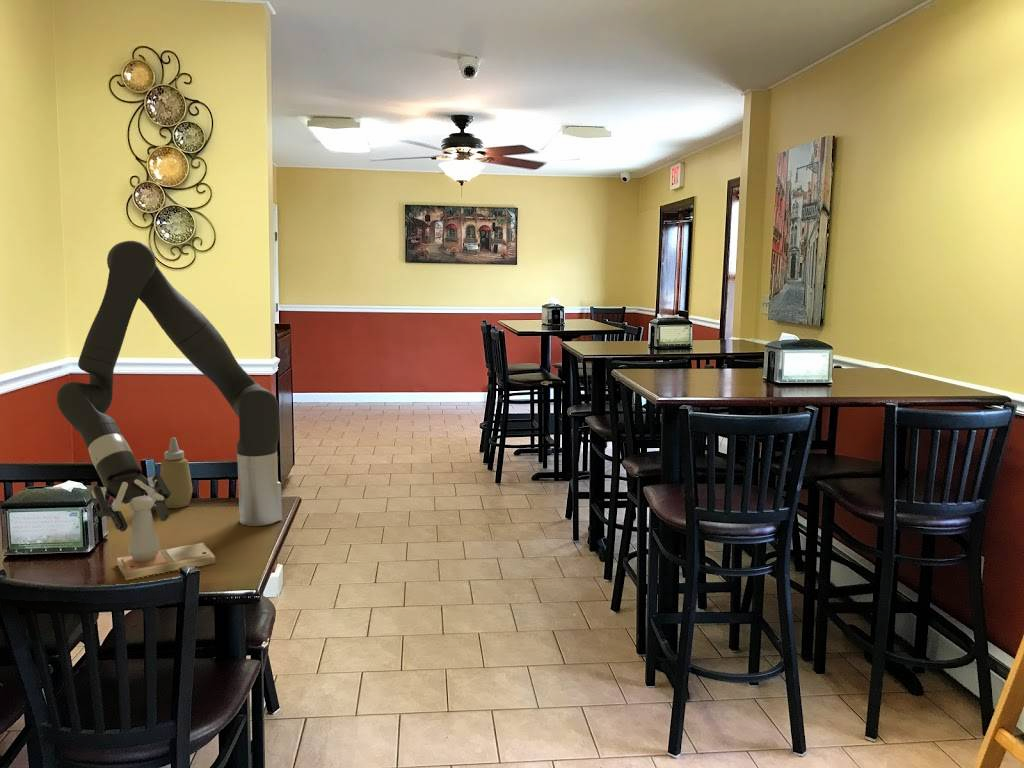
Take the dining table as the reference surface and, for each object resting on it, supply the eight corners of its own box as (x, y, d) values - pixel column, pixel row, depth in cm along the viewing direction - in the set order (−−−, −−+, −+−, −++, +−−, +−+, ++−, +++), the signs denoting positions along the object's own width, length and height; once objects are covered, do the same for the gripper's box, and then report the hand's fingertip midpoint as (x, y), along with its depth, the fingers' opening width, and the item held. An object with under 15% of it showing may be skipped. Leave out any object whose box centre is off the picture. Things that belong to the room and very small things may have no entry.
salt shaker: (147, 565, 156) (144, 502, 155) (122, 562, 157) (118, 500, 156) (165, 554, 162) (162, 494, 160) (141, 552, 163) (137, 492, 161)
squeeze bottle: (187, 510, 198) (184, 441, 196) (154, 510, 198) (151, 441, 195) (197, 501, 206) (194, 434, 204) (166, 501, 206) (162, 434, 203)
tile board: (203, 549, 171) (202, 540, 170) (215, 563, 163) (214, 554, 162) (117, 564, 161) (117, 556, 161) (126, 580, 153) (125, 571, 153)
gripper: (84, 456, 155) (116, 522, 150) (153, 444, 166) (185, 505, 161) (73, 477, 159) (104, 543, 154) (141, 464, 170) (172, 525, 165)
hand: (145, 524), depth 157 cm, fingers open, 8 cm apart
